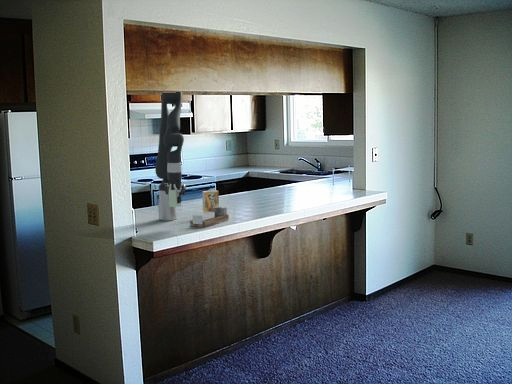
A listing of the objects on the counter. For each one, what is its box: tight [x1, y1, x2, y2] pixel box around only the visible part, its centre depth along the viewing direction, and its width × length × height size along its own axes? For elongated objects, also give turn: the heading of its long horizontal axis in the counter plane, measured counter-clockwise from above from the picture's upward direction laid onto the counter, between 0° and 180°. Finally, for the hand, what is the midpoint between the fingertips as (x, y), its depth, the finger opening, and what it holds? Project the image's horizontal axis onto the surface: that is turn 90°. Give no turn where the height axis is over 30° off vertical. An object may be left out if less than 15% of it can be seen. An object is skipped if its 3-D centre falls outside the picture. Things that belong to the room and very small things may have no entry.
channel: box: [189, 206, 230, 228], centre depth 335 cm, size 10×24×7 cm, turn 151°
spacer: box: [169, 189, 182, 208], centre depth 323 cm, size 4×4×9 cm
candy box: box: [201, 189, 220, 212], centre depth 353 cm, size 9×4×15 cm, turn 120°
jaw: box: [191, 211, 215, 225], centre depth 330 cm, size 6×12×5 cm, turn 151°
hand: (175, 202), depth 324 cm, fingers closed on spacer, 4 cm apart
